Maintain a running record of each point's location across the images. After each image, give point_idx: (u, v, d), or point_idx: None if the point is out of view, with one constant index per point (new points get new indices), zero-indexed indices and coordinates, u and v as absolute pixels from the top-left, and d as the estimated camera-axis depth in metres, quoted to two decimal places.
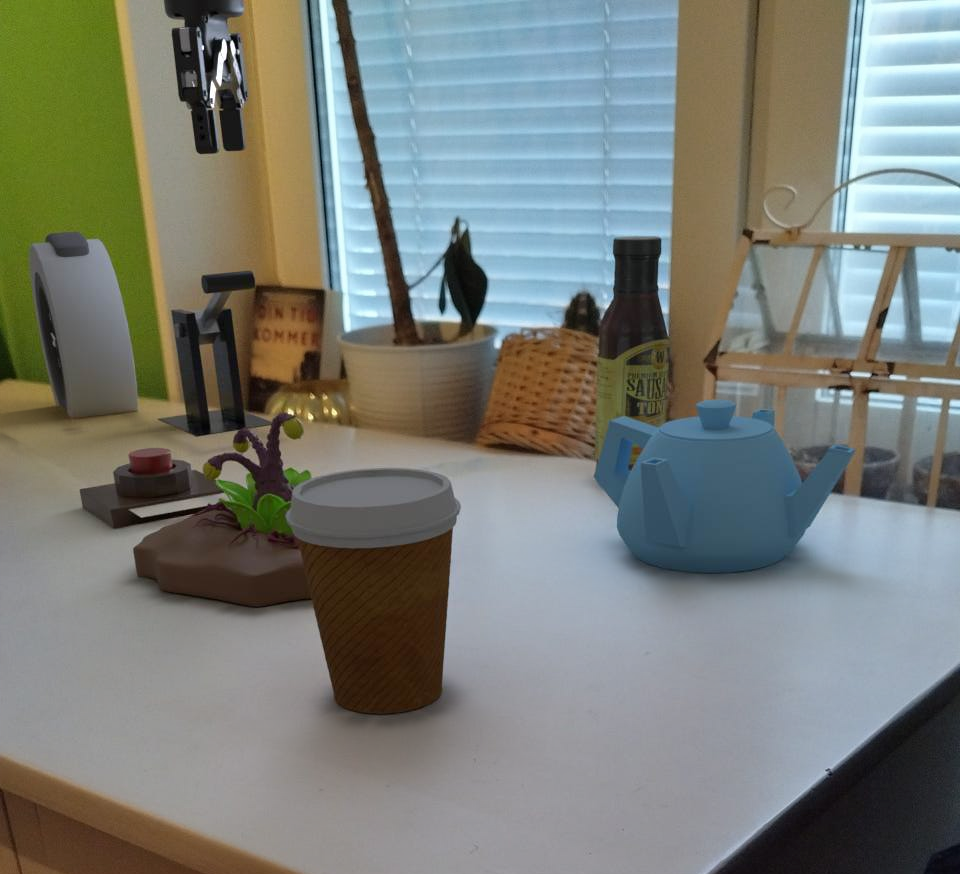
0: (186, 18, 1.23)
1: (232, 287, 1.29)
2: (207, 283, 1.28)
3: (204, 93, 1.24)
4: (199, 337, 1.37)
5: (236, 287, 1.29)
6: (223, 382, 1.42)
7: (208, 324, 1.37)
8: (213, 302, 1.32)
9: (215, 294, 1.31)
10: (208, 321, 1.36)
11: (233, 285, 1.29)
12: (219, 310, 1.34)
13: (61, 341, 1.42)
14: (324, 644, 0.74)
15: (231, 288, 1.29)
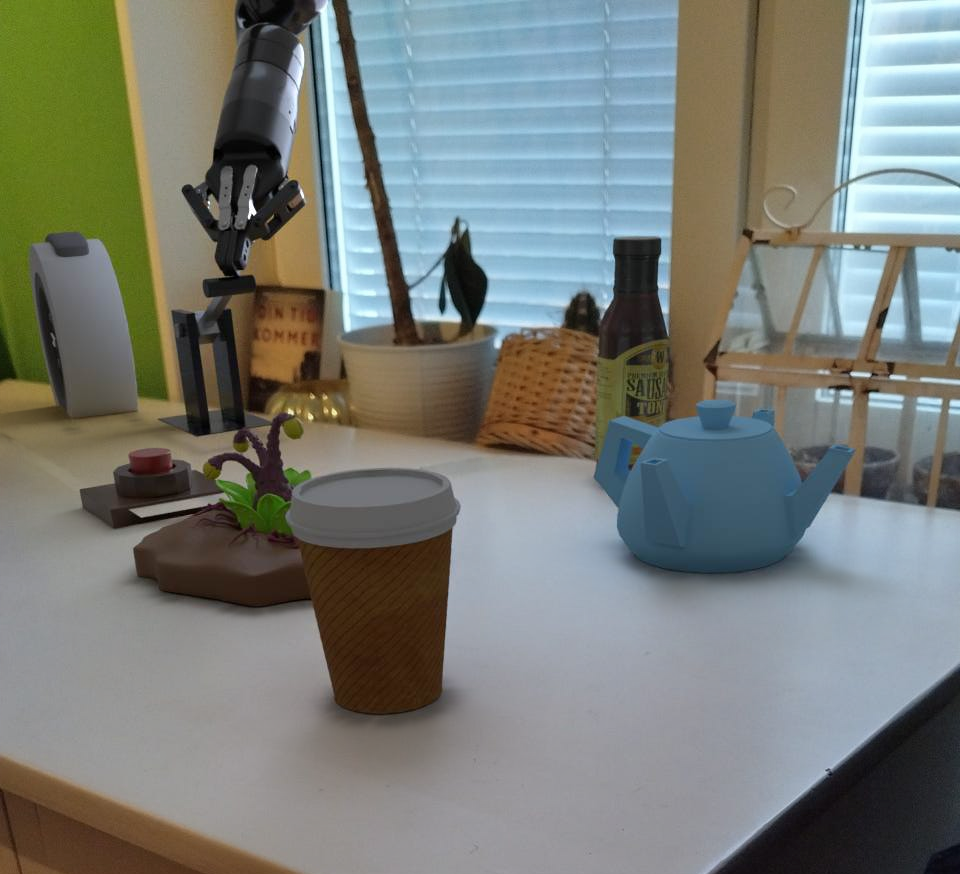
0: (282, 159, 1.30)
1: (233, 291, 1.29)
2: (208, 287, 1.28)
3: None
4: (199, 337, 1.37)
5: (237, 291, 1.29)
6: (223, 382, 1.42)
7: (208, 325, 1.37)
8: (214, 304, 1.32)
9: (216, 297, 1.31)
10: (208, 322, 1.36)
11: (234, 289, 1.29)
12: (220, 312, 1.34)
13: (61, 341, 1.42)
14: (324, 644, 0.74)
15: (232, 292, 1.29)
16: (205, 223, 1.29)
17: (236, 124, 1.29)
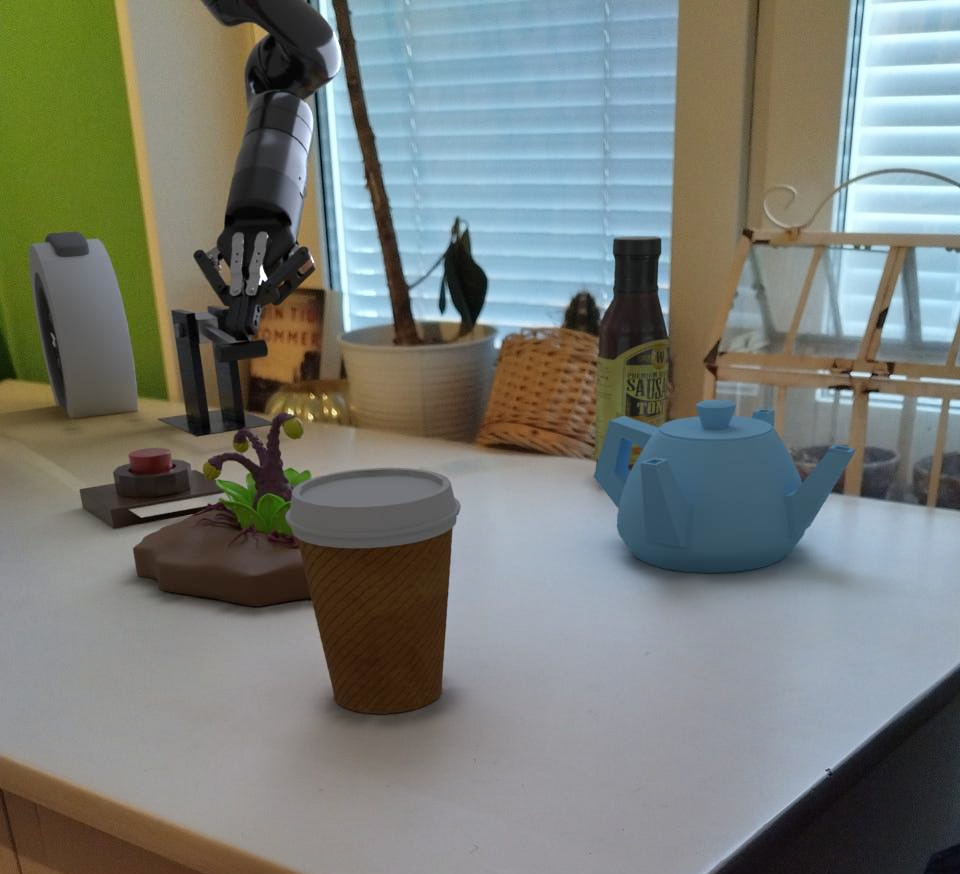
0: (292, 225, 1.32)
1: (244, 359, 1.32)
2: (221, 358, 1.30)
3: None
4: None
5: (248, 358, 1.32)
6: (223, 382, 1.42)
7: None
8: (221, 343, 1.34)
9: (225, 343, 1.33)
10: None
11: (245, 358, 1.31)
12: None
13: (61, 341, 1.42)
14: (324, 644, 0.74)
15: (243, 359, 1.32)
16: (217, 289, 1.31)
17: (247, 191, 1.31)
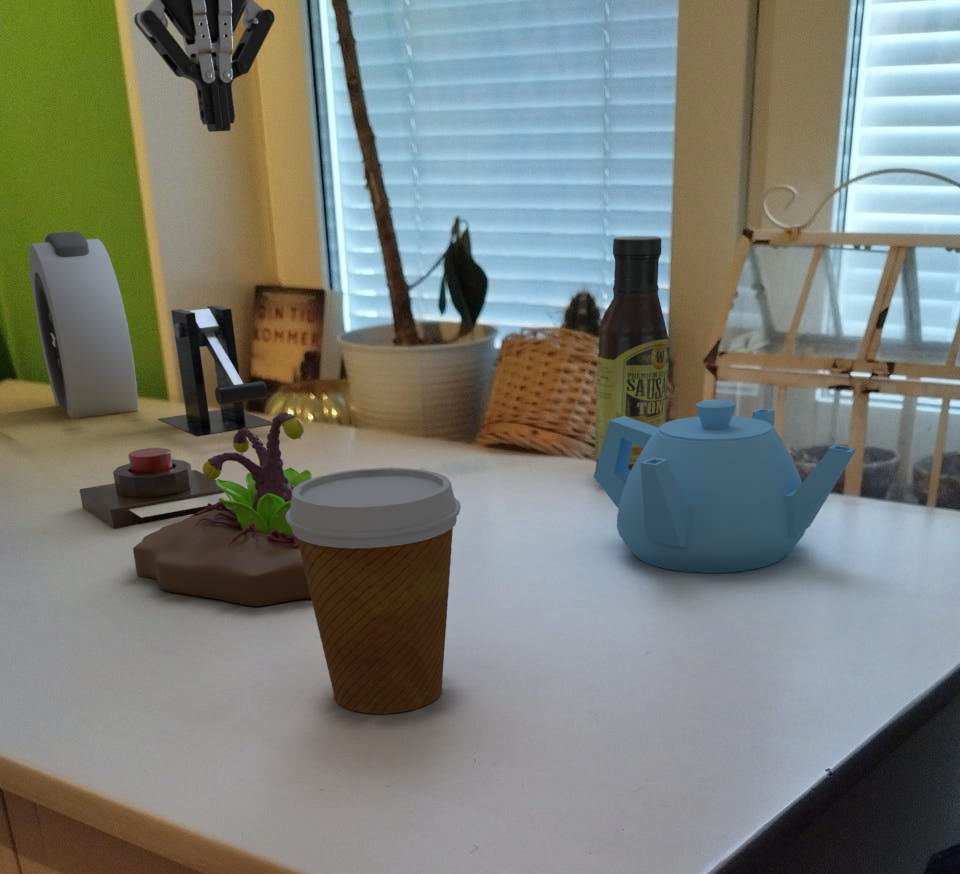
0: None
1: None
2: (221, 402, 1.33)
3: (185, 67, 1.16)
4: None
5: None
6: (223, 382, 1.42)
7: None
8: (221, 368, 1.36)
9: (225, 373, 1.35)
10: None
11: (244, 400, 1.35)
12: None
13: (61, 341, 1.42)
14: (324, 644, 0.74)
15: None
16: None
17: None
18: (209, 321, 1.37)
